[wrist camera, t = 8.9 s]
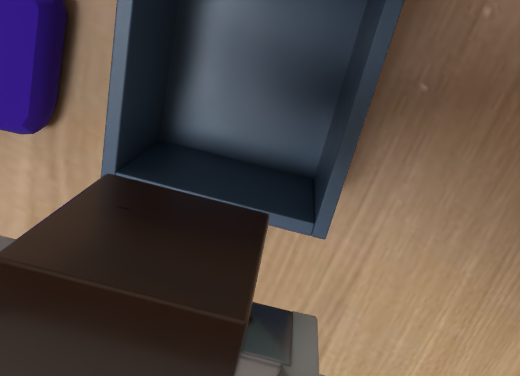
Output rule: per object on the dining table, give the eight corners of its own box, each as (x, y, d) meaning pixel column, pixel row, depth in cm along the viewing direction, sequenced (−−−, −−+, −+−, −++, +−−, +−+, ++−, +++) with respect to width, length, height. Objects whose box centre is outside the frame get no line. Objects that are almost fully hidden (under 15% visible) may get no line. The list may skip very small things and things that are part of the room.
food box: (321, 188, 30) (325, 240, 23) (150, 144, 30) (99, 181, 23) (398, -58, 24) (435, -94, 17) (185, -110, 24) (131, -168, 17)
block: (107, 171, 10) (-12, 256, 6) (270, 213, 10) (248, 323, 6) (94, 306, 12) (-8, 439, 8) (236, 343, 11) (202, 494, 8)
